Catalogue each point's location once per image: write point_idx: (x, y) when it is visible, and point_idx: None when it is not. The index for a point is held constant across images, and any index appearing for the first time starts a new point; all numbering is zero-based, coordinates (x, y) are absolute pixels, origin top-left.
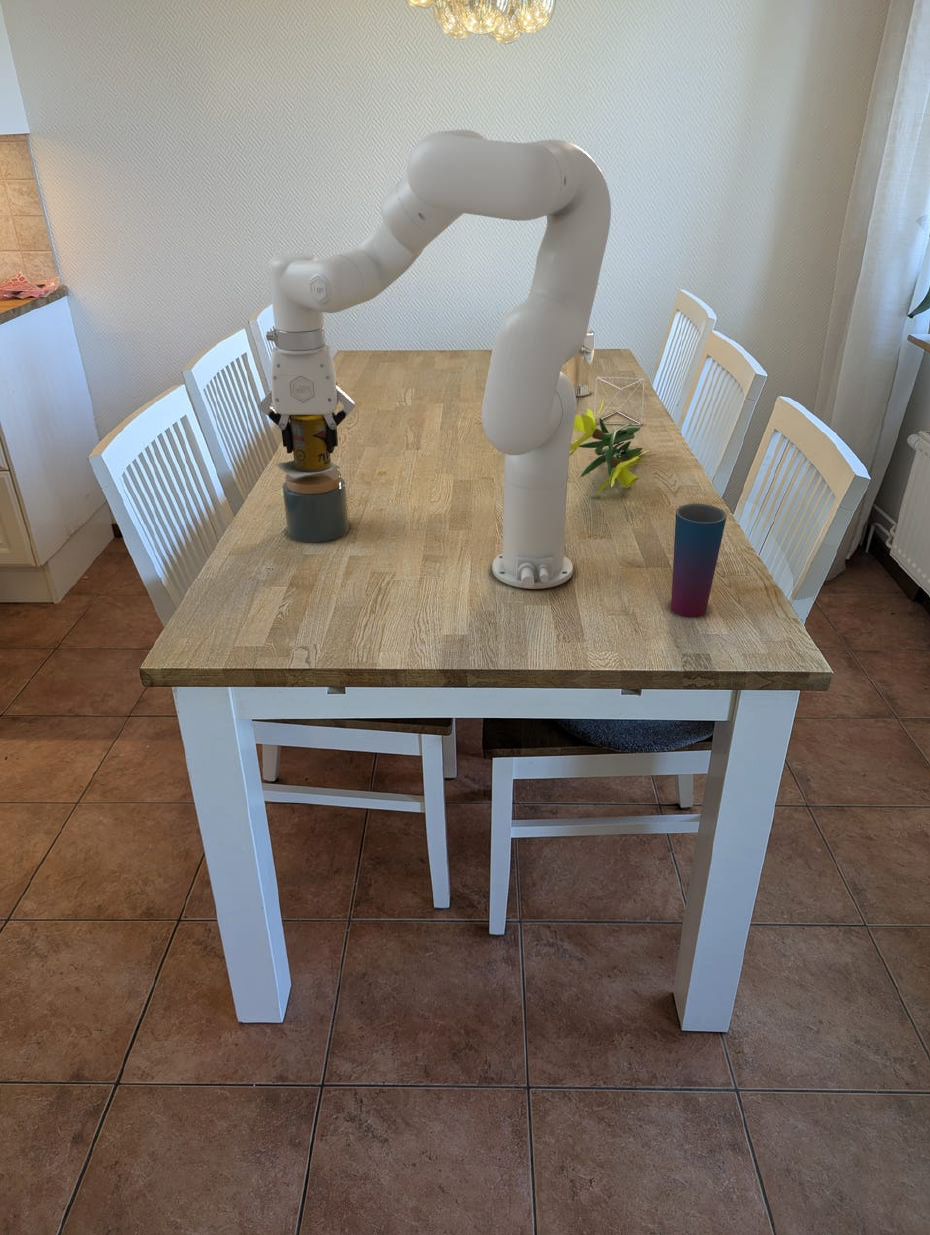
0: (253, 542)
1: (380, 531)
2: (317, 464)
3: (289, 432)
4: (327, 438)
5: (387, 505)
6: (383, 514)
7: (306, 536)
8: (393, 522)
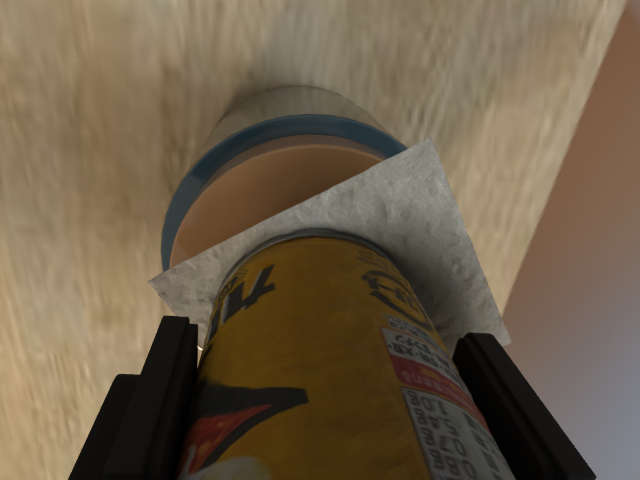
0: (504, 117)
1: (81, 157)
2: (281, 254)
3: (537, 461)
4: (169, 402)
5: (92, 346)
6: (94, 286)
7: (335, 94)
8: (47, 225)
